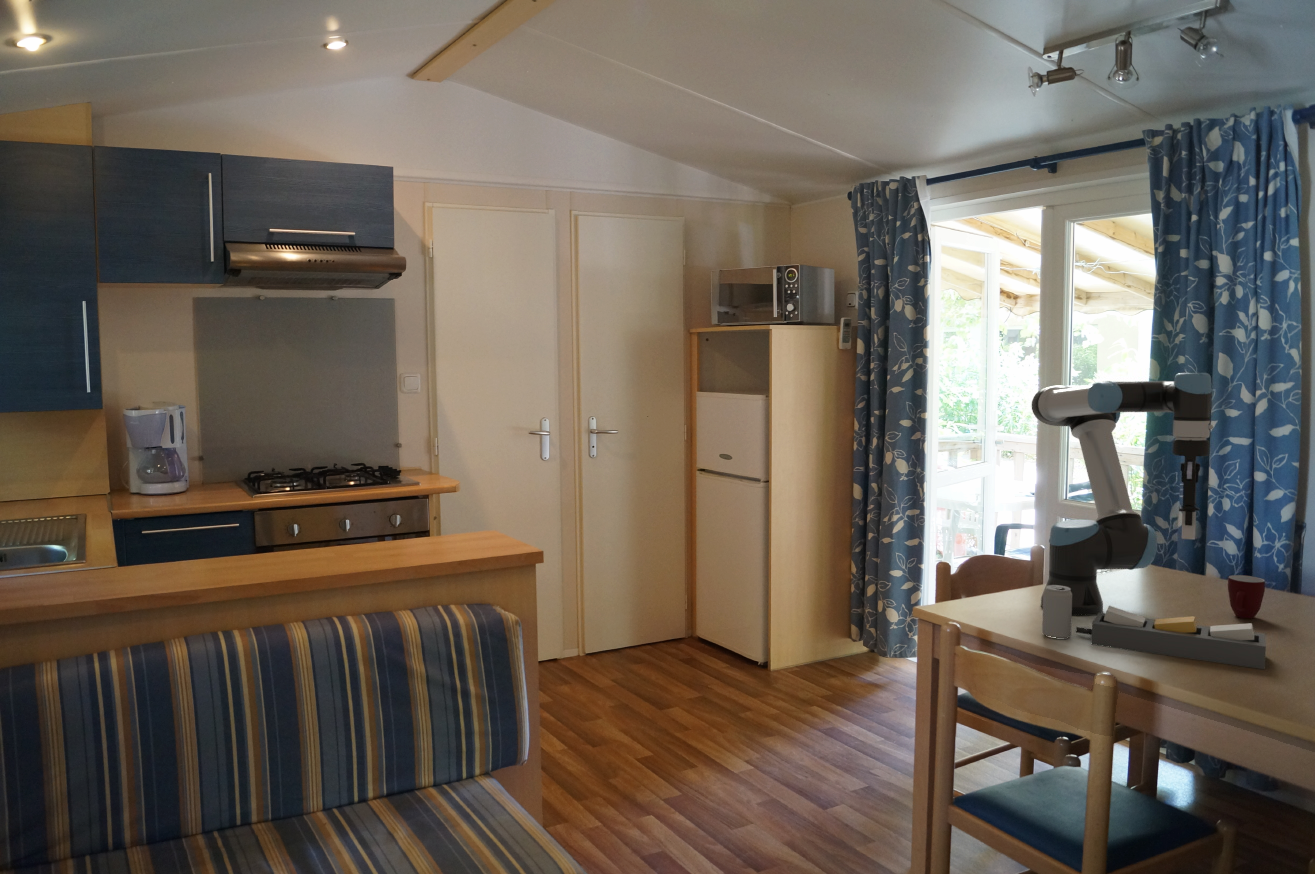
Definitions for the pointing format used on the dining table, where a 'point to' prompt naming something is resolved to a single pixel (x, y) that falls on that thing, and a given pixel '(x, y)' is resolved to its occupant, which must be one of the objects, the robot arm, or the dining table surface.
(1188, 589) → the dining table surface
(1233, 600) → the mug
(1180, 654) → the power strip
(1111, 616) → the rocker grey left
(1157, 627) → the rocker amber
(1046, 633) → the beverage can
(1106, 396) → the robot arm
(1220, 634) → the rocker grey right
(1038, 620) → the dining table surface
